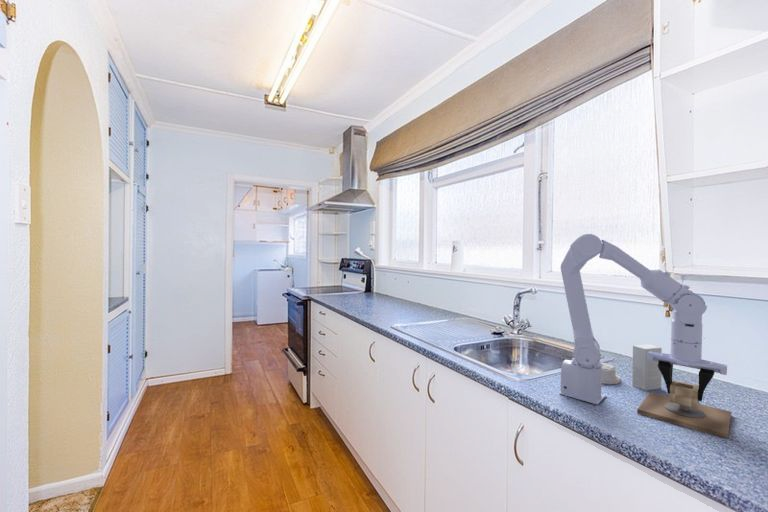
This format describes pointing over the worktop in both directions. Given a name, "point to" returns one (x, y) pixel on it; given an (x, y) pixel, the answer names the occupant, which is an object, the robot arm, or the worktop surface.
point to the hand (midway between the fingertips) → (684, 396)
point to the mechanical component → (609, 374)
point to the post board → (687, 415)
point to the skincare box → (645, 368)
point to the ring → (684, 394)
